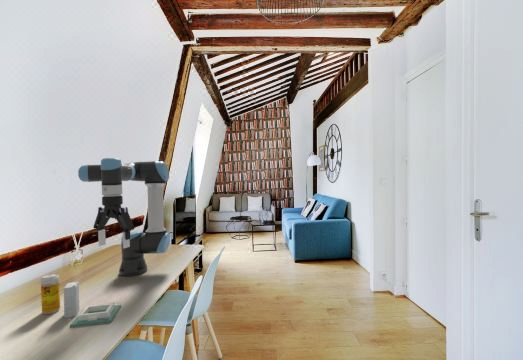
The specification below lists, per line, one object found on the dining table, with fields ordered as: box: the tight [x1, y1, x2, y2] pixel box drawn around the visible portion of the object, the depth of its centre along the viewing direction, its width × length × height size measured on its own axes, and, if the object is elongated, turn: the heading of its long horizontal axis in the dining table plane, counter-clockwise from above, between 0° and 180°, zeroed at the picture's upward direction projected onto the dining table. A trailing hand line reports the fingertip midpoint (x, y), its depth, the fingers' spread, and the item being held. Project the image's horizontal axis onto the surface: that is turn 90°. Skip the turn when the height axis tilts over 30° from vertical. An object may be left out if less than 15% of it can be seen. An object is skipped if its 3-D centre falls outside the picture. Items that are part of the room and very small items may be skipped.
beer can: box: [40, 273, 61, 315], centre depth 115 cm, size 6×6×15 cm
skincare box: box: [63, 281, 80, 319], centre depth 112 cm, size 6×4×12 cm
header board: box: [69, 302, 122, 328], centre depth 110 cm, size 13×14×3 cm
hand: (114, 246), depth 115 cm, fingers open, 13 cm apart
